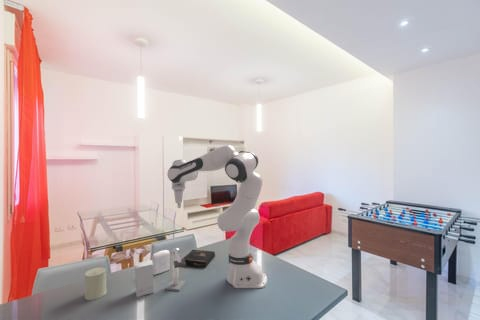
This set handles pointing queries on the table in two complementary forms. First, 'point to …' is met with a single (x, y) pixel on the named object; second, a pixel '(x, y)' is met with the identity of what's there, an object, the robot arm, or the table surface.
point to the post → (175, 279)
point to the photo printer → (161, 262)
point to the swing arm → (178, 258)
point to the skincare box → (144, 278)
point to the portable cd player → (199, 258)
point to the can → (95, 283)
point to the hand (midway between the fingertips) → (179, 207)
